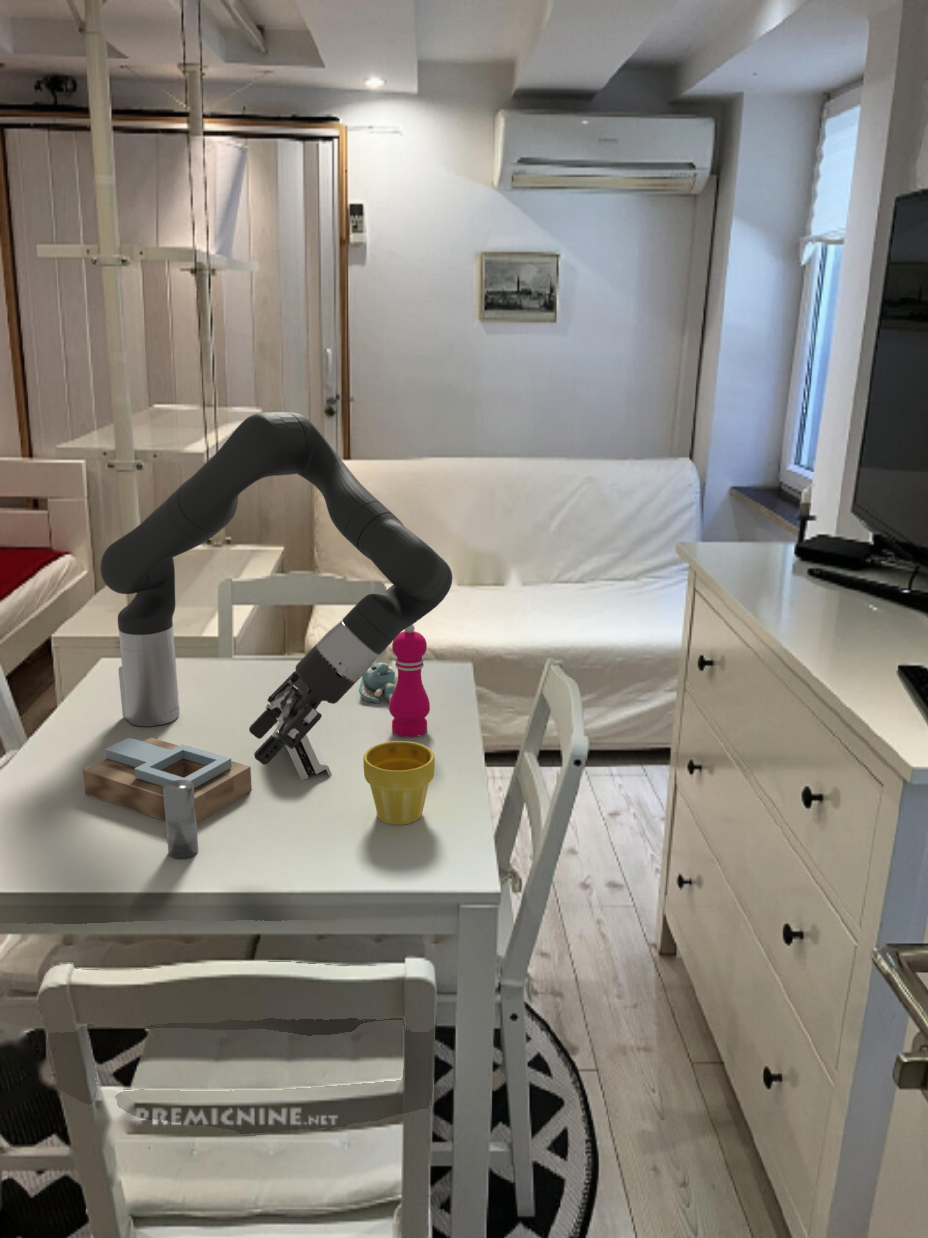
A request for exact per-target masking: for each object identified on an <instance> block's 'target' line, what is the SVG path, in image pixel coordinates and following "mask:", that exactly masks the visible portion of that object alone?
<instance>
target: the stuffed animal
mask: <svg viewBox="0 0 928 1238" xmlns="http://www.w3.org/2000/svg"><path fill="white" fill-rule="evenodd" d="M397 681H398V676H396V671H395V669H393V667H391V666H390V665H388V663H385V662H378V663H373V664H372V665H371V667H370V668H369V669H368V670H367V671H366V672H365V673H364V675H363V676H362V677H361V682H360V685H359V687H358V688H359V689H358V692H359V695H360V697H361V698H362V699H363V700H365V701H368V702H369V703H377V704H378V703H380V701H381V700H382V693H383V696H385V698H387V700H388V701H389V702H390V699H391V696H392V694H393V692H394V690H395V688H396V685H397Z"/></svg>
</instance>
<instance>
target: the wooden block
mask: <svg viewBox="0 0 928 1238" xmlns="http://www.w3.org/2000/svg"><path fill="white" fill-rule="evenodd" d="M142 742H145V743H148V744H152V745H155V746H159V747H162V748H165V749H169V750H172V749H174V748H176V747H178V746H179V745H178V744H174V743H173V742H168V741H165V740H160V739H158V738H154V737H149V738H146V739H145V740H143V741H142ZM231 764H232V767H231V768H230V769H228V770H226V771H224V772H223V773H221V774H219V775H217V776H215V777H214V778H212V779H210V780H208V781H207V782H205V783H203V784H201V785H199V786H198V787H196V788H194V797H195V810H196V824H198V823H199V822H201V821H202V820H204V819H206V818H208V817H209V816H211V815H213V814H214V813H216V812H217V811H220V810H221V809H222V808H224V807H226V806H227V805H229V804H231V803H232V802H234V801H236V800H237V799H239V798H241V797H242V796H244V795H246V794H247V793H249V792H251V791H252V790H253V789H252V787H253V786H252V773H251V772H252V770H251V769H252V768H251V766H250V765H248V764H247V765H246V764H243V763H240V762H236V761H234V760H233V761H232V760H231ZM205 766H206V765H203V764H200V763H196V762H193V761H190V760H186V759H182V760H180V761H178V762H176V763H174V764H172V765H170V766H168V767H166V768H164V769H163V770H161V771H164V772H167V773H170V774H173V775H177V776H180V777H183V778H185V777H186V776H188V775H190V774H192V773H194V772H196V771H198V770H199V769H201V768H203V767H205ZM134 768H136V767H133V766H129V765H126V764H123V763H120V762H117V761H113V760H110V759H107V758H105V759H103V760H101V761H99V762H97V763H95V764H93V765H91V766H89V767H86V768H84V769H82V778H83V779H82V780H83V786H84V794H85V795H88V796H91V797H94V798H96V799H99V800H102V801H106V802H108V803H110V804H114V805H117V806H120V807H123V808H126V809H128V810H132V811H135V812H137V813H140V814H144V815H146V816H149V817H153V818H156V819H157V820H161V821H164V822H166V819H165V807H164V795H163V786H160V785H157V784H154V783H151V782H147V781H144V780H141V779H138V778H135V770H134Z"/></svg>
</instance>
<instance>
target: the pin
mask: <svg viewBox="0 0 928 1238" xmlns="http://www.w3.org/2000/svg"><path fill="white" fill-rule="evenodd" d="M163 795H164V807H165V819H166V821H165V829H166V839H167V841H166V842H167V853H168V856H169V858H171V859H174V860H186V859H187V860H188V859H190V858H194V857H195V856H196V855H198V853H199V841H198V840H199V839H198V829H197V828H198V827H197V824H198V823H196V810H195V797H194V784H193V783H192V782H191V781H188V780H175V781H171V782H169V783H167V784H165V785H164V786H163Z"/></svg>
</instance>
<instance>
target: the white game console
mask: <svg viewBox="0 0 928 1238" xmlns="http://www.w3.org/2000/svg"><path fill="white" fill-rule="evenodd" d="M276 719H277V720H278V718H276ZM275 725H276V727H277V726H278V725H279V721H277V723H276V724H275ZM284 728H285V727H284ZM289 733H290V732H289ZM289 733H288V734H289ZM297 734H298V733H297ZM297 734H296V735H297ZM285 748H286V749H287V751H288V754H289V756H290V757H291V758H290V759H291V760H292V762H293V765H294V767H295V769H296V771H297V774H298V776H299V778H300V780H302V781H303V780H307V779H309V776H310V775H311V774H310V771H311V773H312V774H314V773H315V775H318V774H319V773H321V772H323V771H325V770H326V773H327V774H328V776H332V771H331V770H330V767H329V765H328V763H327V761H326V759H325V757H324V756H323V754H322V752H321V749H320V748H319V746H318V744H317V742H316V740H315V739H314V737H313V734H312V733H311V730H310V731H309V732H308V733H307V734H306V735H305V736H304V737H303V738H302V740H301V741H300V742H299V743H298V744H297V745H296V746H295V747H294V748H293V749H290V748H289V747H286V746H285ZM303 755H304V756H303Z"/></svg>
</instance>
